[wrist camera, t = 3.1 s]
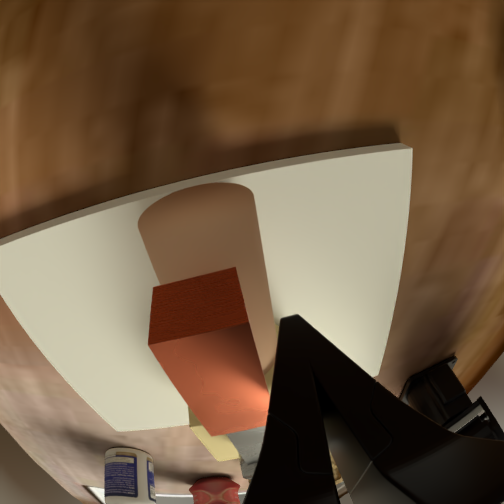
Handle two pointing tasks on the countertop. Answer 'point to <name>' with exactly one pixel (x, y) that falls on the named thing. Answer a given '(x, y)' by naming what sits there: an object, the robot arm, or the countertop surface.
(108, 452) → the pill bottle
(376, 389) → the robot arm
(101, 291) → the valve board
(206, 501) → the liquor
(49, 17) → the countertop surface
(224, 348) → the valve lever
